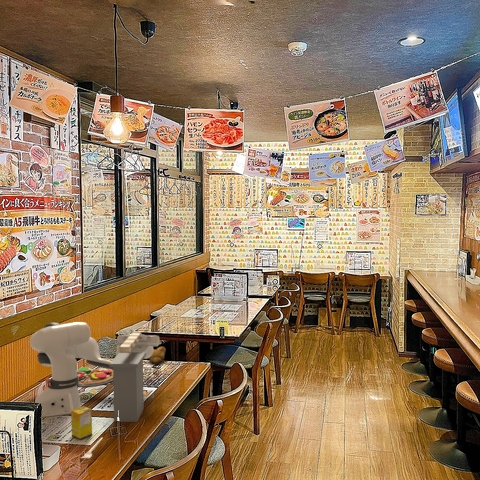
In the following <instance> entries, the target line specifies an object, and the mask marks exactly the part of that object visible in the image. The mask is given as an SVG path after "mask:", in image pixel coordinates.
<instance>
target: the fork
mask: <svg viewBox="0 0 480 480" xmlns="http://www.w3.org/2000/svg"><path fill="white" fill-rule="evenodd" d="M102 439H104V437H102V436H101V438H99V439H98V441H96V442H95V444H94V445H93V446H92V447H91V448H90V449H89V450H88V451H87V452H85V453H84V454H83V456H82V457H80V456H79V459H90V458H91V457H93V456H92V455H93V451H94V450H95V449H96V448H97V446H98V445H99V444H100V442H101V441H102Z"/></svg>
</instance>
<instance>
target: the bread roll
mask: <svg viewBox="0 0 480 480" xmlns="http://www.w3.org/2000/svg"><path fill="white" fill-rule="evenodd" d="M165 355H166V348H165V346H159V347H157V348H156V349H154V352H153V354H152V356H151V357H150V358H148V359H149V361H150V362H152V363H153V364H160V363H161V362H162V361H163V360H165Z"/></svg>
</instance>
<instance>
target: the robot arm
mask: <svg viewBox="0 0 480 480" xmlns="http://www.w3.org/2000/svg"><path fill="white" fill-rule="evenodd" d="M91 335H92V332H91V327H90V325H88V323H87V322H85V321H84V322H83V321H73V322H72V321H71V322H67V323H62V324H61V323H59V322H49V323H46V324H45V325H44V327H43V328H41V329H39V330H37V331H35V332H34V333H33V334H32V335H30V339H29V345H30V348H32V350H34V351H37V355H36V356H37V361H38V364H39V365H42V366H44V367H51V378H49V377H46V378H45V380H44V381H45V383H46V384H47V387H46V388H45V389H44V390H42V391H41V392H40V393H39V394H38V395H36V397H35V402H34V404H35V403H41V404H42V409H43V410H42V417H41V418H47V417H53V416H54V417H55V416H56V417H57V416H62V415H71V410H74V409H77V408H80V407H82V401H81V399H80V394H79V387H78V385H79V379H78V376H77V370H78V361H77V358H79V359H80V358H81V359H84V360H85V361H86V363H87V364H88V365H91V366H94V367H97V368H105V369H109V370H112V371H113V367H109V364H110V363H111V362H112V360H108V359H104V358H102V357H101V355H100V354H101V353H100V347H99V345H98V342H97V341H96V339H95V338H94V337H92V336H91ZM130 335H131V334H126V335H118V336H117V338H116V343H117V347H116V354H115V357H116V356H117V355H118V354H119V353H120V346H121V345H122V344H123V343H124V342H125V341H126V339H127V338H128V337H129V336H130ZM161 344H162V341H160V336H159V335H145V334H141V335H140V340H139V342H138V343H137V344H136V345H135V346H134V348H133V349H132V350H131V351H130V352H146V356H145V357H144V359H145V360H147V359H149V358H150V357H151V356H152V354H153V352H154V350H155V349H154V347H158V346H159V345H161ZM159 347H160V346H159ZM144 359H143V360H144Z"/></svg>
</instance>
